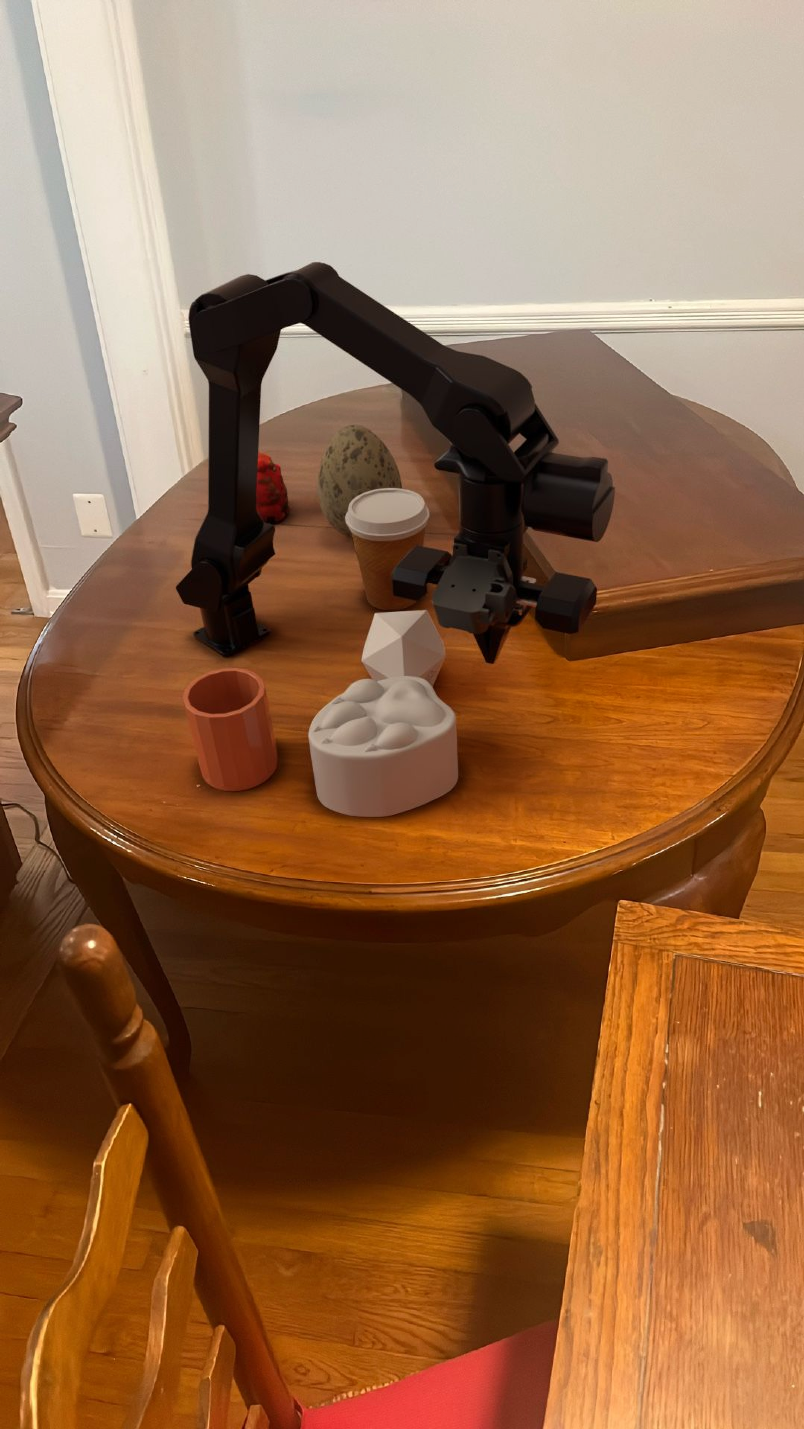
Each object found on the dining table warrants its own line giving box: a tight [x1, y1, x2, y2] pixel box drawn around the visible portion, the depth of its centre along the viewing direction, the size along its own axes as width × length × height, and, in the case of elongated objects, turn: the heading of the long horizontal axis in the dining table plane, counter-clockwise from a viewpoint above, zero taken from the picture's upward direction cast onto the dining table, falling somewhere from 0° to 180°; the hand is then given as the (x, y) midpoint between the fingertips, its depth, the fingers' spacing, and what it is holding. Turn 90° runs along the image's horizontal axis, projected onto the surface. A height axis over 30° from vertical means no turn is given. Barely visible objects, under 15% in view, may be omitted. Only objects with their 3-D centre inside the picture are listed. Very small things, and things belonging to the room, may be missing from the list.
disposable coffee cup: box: [345, 488, 430, 611], centre depth 115 cm, size 10×10×12 cm
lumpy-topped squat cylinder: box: [308, 676, 459, 818], centre depth 91 cm, size 10×13×9 cm
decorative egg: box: [317, 424, 403, 539], centre depth 126 cm, size 11×11×15 cm
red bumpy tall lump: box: [256, 451, 290, 524], centre depth 133 cm, size 8×7×15 cm
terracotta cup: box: [182, 667, 279, 792], centre depth 93 cm, size 7×7×9 cm
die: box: [360, 609, 446, 688], centre depth 103 cm, size 8×9×10 cm
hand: (491, 661), depth 98 cm, fingers closed
